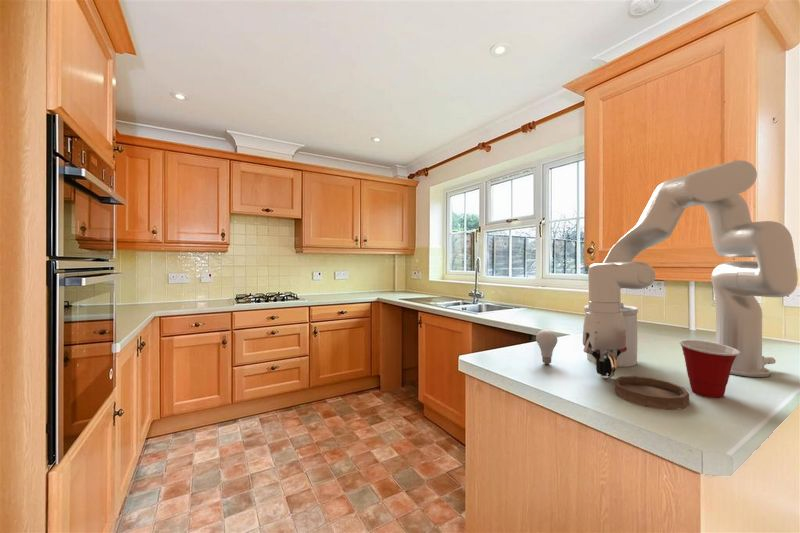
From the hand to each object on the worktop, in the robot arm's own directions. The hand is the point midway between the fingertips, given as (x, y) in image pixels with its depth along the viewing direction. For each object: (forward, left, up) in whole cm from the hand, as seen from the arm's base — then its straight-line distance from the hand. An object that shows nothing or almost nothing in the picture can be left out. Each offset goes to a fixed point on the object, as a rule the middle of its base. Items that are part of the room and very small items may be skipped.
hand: (605, 373), depth 94 cm
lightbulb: (+9, -14, -1) cm, 17 cm away
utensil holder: (-13, -15, -1) cm, 20 cm away
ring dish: (-2, +13, -1) cm, 13 cm away
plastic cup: (-17, +14, -1) cm, 21 cm away
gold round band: (0, 0, -1) cm, 1 cm away
